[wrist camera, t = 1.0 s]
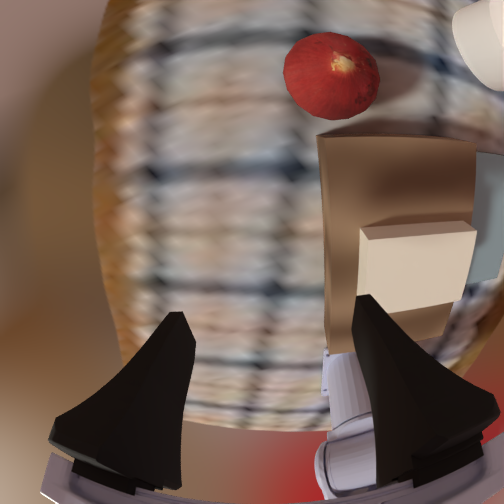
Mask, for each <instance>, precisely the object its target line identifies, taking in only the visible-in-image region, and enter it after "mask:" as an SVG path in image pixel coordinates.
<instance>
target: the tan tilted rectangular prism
mask: <svg viewBox="0 0 504 504" xmlns="http://www.w3.org/2000/svg"><path fill="white" fill-rule="evenodd" d="M476 235H477V230H475V229H474V228H473V227H471V226H470V225H469V224H467V223H466V222H464V221H447V222H432V223H417V224H403V225H389V226H376V227H363V228H360V246H359V269H358V285H357V296H358V295H365V294H371V295H372V296H373V298H374V299H375V300H376V301H377V302H378V303H379V304H380V306H381V307H382V308H383V309H384V310H385V311H386V312H387V313H394V312H400V311H406V310H412V309H418V308H423V307H429V306H434V305H439V304H444V303H449V302H454V301H459V300H461V297H462V294H463V291H464V287H465V284H466V280H467V276H468V272H469V268H470V264H471V260H472V255H473V250H474V245H475V240H476Z"/></svg>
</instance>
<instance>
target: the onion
mask: <svg viewBox="0 0 504 504" xmlns="http://www.w3.org/2000/svg"><path fill="white" fill-rule="evenodd" d="M283 75H284V79H285V83H286V87H287V90H288V91H289V93H290V94H291V96H292V97H293V99H294V100H295V102H296V103H297V105H299V106H300V107H302V108H303V109H304V110H306V111H307V112H309V113H310V114H311V115H313V116H316V117H320V118H324V119H328V120H340V119H349V118H351V117H353V116H355V115H357V114H360V113H362V112H364V111H365V110H366V109H367V108H368V107H369V106H370V105H371V103H372V102H373V101H374V100H375V99H376V96H377V91H378V87H379V82H380V77H379V73H378V69H377V65H376V61H375V59H374V58H373V57H372V56H371V55H370V53H369V52H368V51H367V50H366V49H365V48H364V47H363V46H362V45H361V44H359V43H358V42H356V41H354V40H353V39H351V38H349V37H348V36H345V35H341V34H337V33H332V32H326V33H318V34H313V35H310V36H308V37H306V38H304V39H302V40H299V41H297V42H296V43H295V45H294V46H293V48H292V49H291V50H290V52H289V53H288V54H287V56H286V57H285V64H284V70H283Z"/></svg>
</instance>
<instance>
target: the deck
mask: <svg viewBox="0 0 504 504" xmlns="http://www.w3.org/2000/svg"><path fill="white" fill-rule="evenodd" d="M316 139H317V148H318V158H319V169H320V181H321V195H322V211H323V231H324V264H325V316H324V327H325V333H326V340H327V346H328V353H329V355H332V354H341V353H349V352H356V351H355V347H354V342H353V336H352V331H351V327H352V320H353V314H354V307H355V300H356V296H357V285H358V269H359V246H360V228H363V227H376V226H389V225H403V224H417V223H432V222H447V221H464V222H466V223H467V224H469V225H470V226H471V222H472V214H473V206H474V196H475V182H476V143H472V142H468V141H463V140H458V139H454V138H448V137H437V136H424V135H407V134H335V135H316ZM453 303H454V302H449V303H444V304H439V305H434V306H429V307H423V308H418V309H412V310H406V311H400V312H394V313H388V315H389V316H390V317H391V318H392V319H393V320H394V321H395V322H396V323H397V324H398V325H399V326H400V327H401V329H402V330H403V331H404V332H405V333H406V334H407V335H408V336H409V337H410V338H411V339H412V340H413V341H414V342H415V341H420V340H425V339H429V338H433V337H438V336H442V335H443V332H444V329H445V327H446V324H447V321H448V318H449V315H450V312H451V309H452V306H453Z"/></svg>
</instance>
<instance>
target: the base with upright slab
mask: <svg viewBox="0 0 504 504" xmlns="http://www.w3.org/2000/svg"><path fill="white" fill-rule="evenodd" d="M452 30H453V34H454V39H455V42H456V44H457V47H458V49H459V52H460V54H461V55H462V57H463V59H464V61H465V63H466V64H467V66H468V67H469V68H470V70H471V71H472V73H473V74H474V75H475V76H476V77H477V78H478V79H479V80H480V82H482V83H483V84H484V85H486V86H487V87H488V88H490V89H493V90H495V91H504V0H481V1H478V2H476V3H473V4H471V5H469V6H466V7H464V8H462V9H459V10H458V11H457V12H456V13H455V14H454V17H453V20H452Z"/></svg>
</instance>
